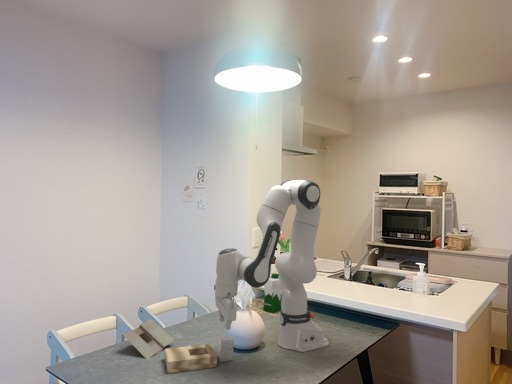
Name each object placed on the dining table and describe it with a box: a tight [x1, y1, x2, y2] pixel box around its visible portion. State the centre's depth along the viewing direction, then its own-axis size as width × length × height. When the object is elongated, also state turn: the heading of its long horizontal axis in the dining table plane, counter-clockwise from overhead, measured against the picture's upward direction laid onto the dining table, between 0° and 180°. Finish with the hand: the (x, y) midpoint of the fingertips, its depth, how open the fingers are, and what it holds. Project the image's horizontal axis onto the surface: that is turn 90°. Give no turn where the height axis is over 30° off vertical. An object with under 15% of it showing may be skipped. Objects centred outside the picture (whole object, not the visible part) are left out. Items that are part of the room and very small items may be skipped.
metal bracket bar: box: [217, 335, 234, 362], centre depth 150 cm, size 5×4×8 cm
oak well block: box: [164, 343, 218, 374], centre depth 146 cm, size 18×12×4 cm, turn 108°
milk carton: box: [262, 272, 282, 314], centre depth 211 cm, size 9×9×20 cm
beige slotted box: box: [122, 318, 175, 360], centre depth 159 cm, size 16×9×15 cm
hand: (224, 325), depth 150 cm, fingers open, 8 cm apart
